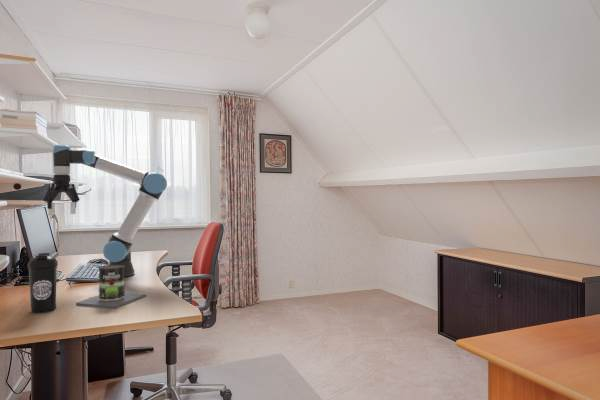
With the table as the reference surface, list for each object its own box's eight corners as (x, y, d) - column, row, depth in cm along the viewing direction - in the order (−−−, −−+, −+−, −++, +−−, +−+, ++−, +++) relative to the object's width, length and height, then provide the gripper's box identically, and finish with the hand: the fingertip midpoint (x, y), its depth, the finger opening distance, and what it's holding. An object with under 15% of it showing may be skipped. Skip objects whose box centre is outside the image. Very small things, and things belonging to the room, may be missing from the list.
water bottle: (26, 315, 151) (25, 256, 151) (30, 308, 160) (29, 253, 160) (57, 311, 156) (56, 254, 156) (59, 305, 165) (58, 251, 165)
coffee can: (124, 299, 170) (124, 267, 170) (98, 302, 166) (97, 269, 165) (125, 294, 179) (124, 263, 179) (100, 296, 175) (99, 265, 175)
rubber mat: (109, 293, 184) (109, 291, 184) (146, 296, 179) (146, 293, 179) (75, 305, 165) (75, 302, 165) (115, 308, 160) (115, 306, 160)
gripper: (75, 175, 218) (75, 213, 219) (34, 173, 194) (35, 215, 195) (86, 175, 217) (86, 213, 217) (46, 173, 192) (47, 215, 193)
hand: (62, 214), depth 206 cm, fingers open, 13 cm apart
